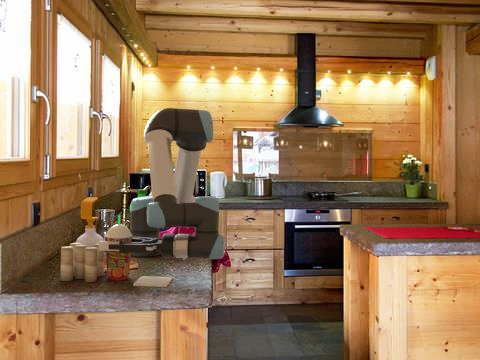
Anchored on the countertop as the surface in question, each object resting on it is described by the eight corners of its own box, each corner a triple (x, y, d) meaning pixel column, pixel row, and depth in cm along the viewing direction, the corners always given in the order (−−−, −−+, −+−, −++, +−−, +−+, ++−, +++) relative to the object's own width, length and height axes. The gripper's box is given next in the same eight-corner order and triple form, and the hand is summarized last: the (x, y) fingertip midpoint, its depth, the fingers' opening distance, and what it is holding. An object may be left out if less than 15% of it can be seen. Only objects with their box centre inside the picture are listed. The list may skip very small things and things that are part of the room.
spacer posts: (72, 273, 154) (72, 242, 154) (105, 274, 154) (106, 243, 154) (58, 280, 144) (59, 248, 143) (94, 282, 143) (94, 249, 143)
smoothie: (104, 282, 143) (105, 216, 143) (104, 276, 151) (105, 214, 151) (132, 281, 146) (133, 216, 145) (130, 275, 154) (132, 214, 153)
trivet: (141, 277, 150) (141, 276, 150) (172, 279, 150) (172, 277, 150) (133, 285, 140) (133, 283, 140) (166, 287, 140) (166, 285, 140)
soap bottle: (108, 268, 163) (110, 197, 162) (93, 273, 154) (95, 198, 154) (86, 265, 165) (87, 196, 165) (70, 271, 157) (71, 197, 156)
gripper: (168, 264, 137) (91, 261, 138) (180, 251, 158) (113, 249, 159) (169, 238, 137) (92, 236, 138) (181, 229, 158) (114, 227, 159)
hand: (103, 243), depth 148 cm, fingers closed on smoothie, 8 cm apart
